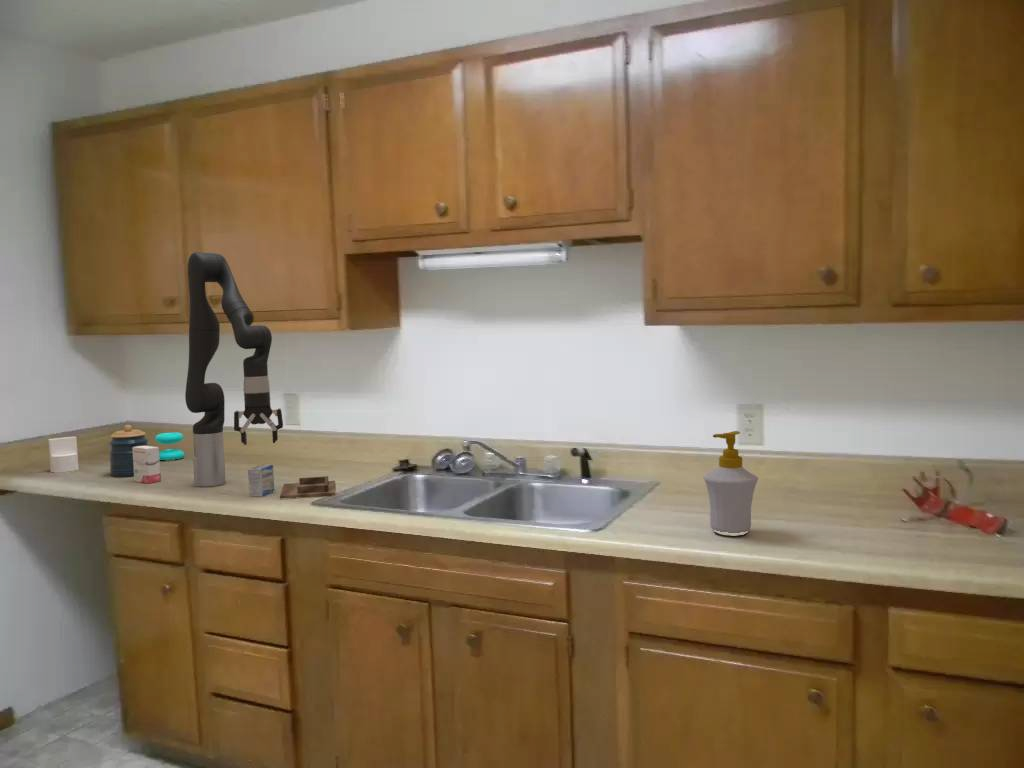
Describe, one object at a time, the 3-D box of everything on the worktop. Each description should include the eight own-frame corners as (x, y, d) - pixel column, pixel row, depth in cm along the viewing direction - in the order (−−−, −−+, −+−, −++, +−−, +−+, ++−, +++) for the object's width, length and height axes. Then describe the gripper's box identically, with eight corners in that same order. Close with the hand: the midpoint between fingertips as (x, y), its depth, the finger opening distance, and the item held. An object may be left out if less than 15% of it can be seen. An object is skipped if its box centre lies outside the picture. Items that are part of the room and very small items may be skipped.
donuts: (161, 432, 323) (186, 431, 323) (163, 457, 323) (188, 456, 324) (150, 436, 313) (177, 435, 313) (152, 461, 313) (178, 461, 314)
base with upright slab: (76, 467, 305) (73, 435, 304) (80, 470, 298) (78, 438, 297) (48, 470, 300) (46, 438, 299) (52, 474, 293) (50, 440, 292)
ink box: (161, 481, 275) (159, 446, 274) (148, 483, 271) (146, 448, 270) (146, 478, 280) (144, 444, 279) (133, 481, 276) (131, 446, 275)
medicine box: (262, 497, 248) (260, 469, 247) (248, 497, 248) (247, 469, 248) (274, 491, 255) (273, 464, 254) (261, 491, 256) (260, 464, 255)
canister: (146, 469, 299) (144, 421, 297) (154, 474, 288) (151, 424, 286) (107, 473, 291) (104, 424, 290) (113, 479, 281) (110, 428, 279)
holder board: (280, 499, 244) (279, 489, 244) (284, 486, 262) (283, 477, 262) (334, 495, 248) (334, 485, 247) (335, 483, 265) (334, 474, 265)
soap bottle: (692, 531, 200) (692, 431, 198) (729, 523, 206) (729, 426, 204) (731, 543, 189) (731, 437, 187) (769, 534, 196) (769, 432, 193)
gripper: (281, 388, 254) (284, 440, 256) (233, 391, 251) (236, 443, 253) (280, 390, 247) (283, 444, 248) (230, 393, 244) (233, 446, 245)
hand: (259, 443), depth 250 cm, fingers open, 8 cm apart
